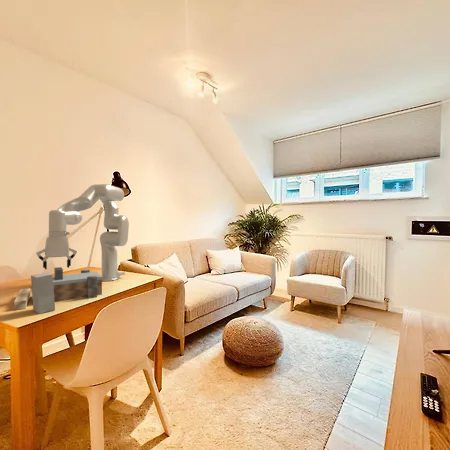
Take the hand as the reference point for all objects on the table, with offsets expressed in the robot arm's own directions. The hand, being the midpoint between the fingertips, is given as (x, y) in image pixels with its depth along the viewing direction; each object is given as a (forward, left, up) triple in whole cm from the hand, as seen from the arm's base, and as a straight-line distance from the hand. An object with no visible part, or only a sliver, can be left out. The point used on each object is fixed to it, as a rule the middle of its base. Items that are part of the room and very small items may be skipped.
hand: (57, 268), depth 132 cm
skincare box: (+7, +19, -15) cm, 25 cm away
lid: (-7, 0, -7) cm, 9 cm away
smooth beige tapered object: (+14, 0, -15) cm, 20 cm away
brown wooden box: (-6, 0, -15) cm, 16 cm away
